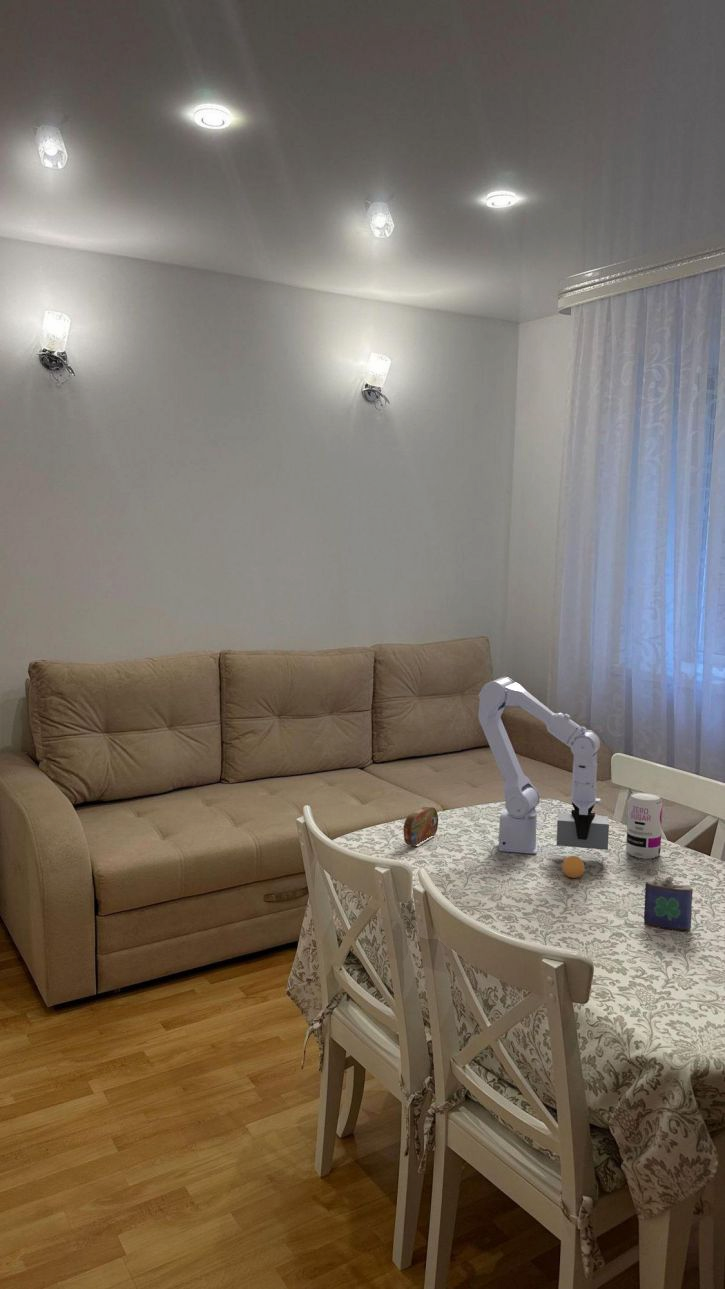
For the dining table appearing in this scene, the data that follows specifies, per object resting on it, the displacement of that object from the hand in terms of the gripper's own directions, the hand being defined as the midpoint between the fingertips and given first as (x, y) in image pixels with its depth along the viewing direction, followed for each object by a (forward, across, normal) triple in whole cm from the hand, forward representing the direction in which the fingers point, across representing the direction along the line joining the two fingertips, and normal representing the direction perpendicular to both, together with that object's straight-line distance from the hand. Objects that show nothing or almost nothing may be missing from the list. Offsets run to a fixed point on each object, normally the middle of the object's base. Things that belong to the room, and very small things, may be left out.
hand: (582, 834), depth 225 cm
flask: (+6, -36, -17) cm, 40 cm away
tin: (+7, +3, +41) cm, 42 cm away
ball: (+4, -13, +2) cm, 14 cm away
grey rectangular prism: (+2, 0, 0) cm, 2 cm away
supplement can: (+6, +7, -15) cm, 18 cm away
